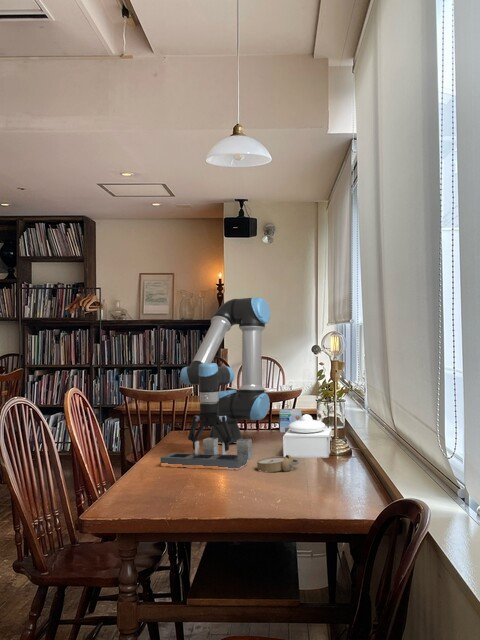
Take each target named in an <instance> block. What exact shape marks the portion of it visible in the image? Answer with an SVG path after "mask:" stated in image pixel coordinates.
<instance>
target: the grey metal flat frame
mask: <svg viewBox="0 0 480 640" xmlns="http://www.w3.org/2000/svg"><path fill="white" fill-rule="evenodd" d="M161 463H168V464H182V465H203V466H218V467H228V468H240V467H241V466H243V465H245V464H246V463H247V464H248V462H247V455H237V454H227V455H223V453H222V454H203V453H200V454H196V453H195V452H194V453H193V452H192V453H191V452H190V453H189V452H171V453H167V454H165V455H164V456H161V457H160V464H161Z"/></svg>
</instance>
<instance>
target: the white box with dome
mask: <svg viewBox="0 0 480 640" xmlns="http://www.w3.org/2000/svg"><path fill="white" fill-rule="evenodd" d="M288 427H289V430H288V431H287V432H286V433H285V434H283V436H282V446H283V447H282V451H283V457H286V455H290V456H291V457H292V458H312V459H313V458H315V459H316V458H318V459H321V458H324V459H328V458H329V457H330V455H331V451H330V439H331V440H332V435H331V433H332V432H333V431H332V430H333V428H332V427H327V426H326V424H325V423H324V422H323V421H321V420H320V421H319V420H316V419H313V417H312V415H310V414H307V413H306V414H302V417H301V420H298V421H295V422H292V423H291V424H289V426H288Z"/></svg>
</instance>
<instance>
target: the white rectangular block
mask: <svg viewBox="0 0 480 640" xmlns="http://www.w3.org/2000/svg"><path fill="white" fill-rule="evenodd" d="M252 442H253V441H252V438H242V439H239V440H237V443H236V455H247V460H250V459H252V460H253V447H252V445H253V444H252Z"/></svg>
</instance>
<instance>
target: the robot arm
mask: <svg viewBox="0 0 480 640" xmlns="http://www.w3.org/2000/svg"><path fill="white" fill-rule="evenodd" d="M270 319H271V311H270V306H269V304H268V302H267V301H266V300H265V299H264V298H262V297H246V298H245V297H244V298H233V299H229V300H227V301H226V302H224V303H223V304H221V305H220V306H219V307H218V309H217V310H216V311H215V312H214V314H213V316H212V317H211V319H210V323H211V324H210V327H209V328H208V330H207V332H206V334H205V336H204V337H203V340H202V342H201V345H199V348H198V350H197V352H196V354H195V356H194V358H193V359H192V361H191V363H190V366H185V367H182V369H181V371H180V375H179V376H180V381H181V382H182V384H184V385H189V386H199V389H198V391H199V402H200V404H199V413H200V414H199V415H197V414H196V415H193V416H192V424H191V428H190V431H189V434H188V437H187V439H188V440H189V441H191V442H192V450H193V451H194V453H196V454H201V452H200V440H199V437H201V435H202V433H203V431H204V429H205V428H206V427H211V428H210V431H209V435H208V438H218V442H221V443H222V445H221V446H222V448H221V449H222V455H228V451H229V450H230V444H229V443H234V442H237V440H239V439H243V435H242V433H241V430H240V427H239V421H238V420H247V421H248V420H249V421H250V420H251V421H261V420H263V419H264V418H265V417H266V416H267V414H268V412H269V411H270V406H271V405H270V403H271V402H270V400H271V399H270V397H269V395H268V394H267V393H266V392H265V388H264V387H263V386H262V332H263V331H264V330H265V329H266V324H268V323H269V322H270ZM234 325H236V326H237V325H238V328H239V329H240V330H241V332H242V337H241V339H242V340H241V342H242V343H241V346H242V347H241V350H242V351H241V355H242V356H241V386H240V387H239V388H238V389H228V390H221V391H219V386H226V385H229V384H231V383H232V382H233V381H234V379H235V371H234V370H233V368H231V367H230V366H226V365H222V366H218V364H217V362H216V363H215V362H213V360H214V358H215V356H216V354H217V352H218V350H219V347H220V345H221V344H222V342H223V340H224V337H226V333H227V332H229V331H230V330H231V329H232V327H234ZM199 421H200V422H201V423H200V424H199V427H198V423H199ZM197 427H198V429H197ZM196 429H197V431H196ZM188 440H187V441H188Z"/></svg>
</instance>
